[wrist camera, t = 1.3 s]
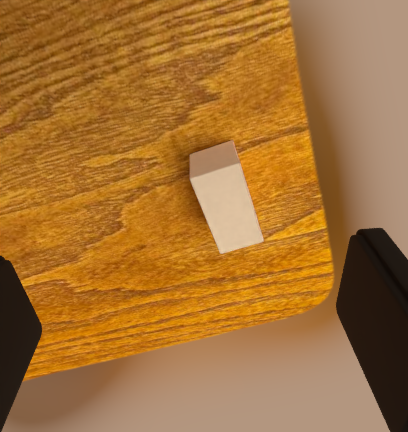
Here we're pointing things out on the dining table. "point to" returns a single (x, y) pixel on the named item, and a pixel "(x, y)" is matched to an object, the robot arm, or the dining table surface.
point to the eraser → (224, 197)
